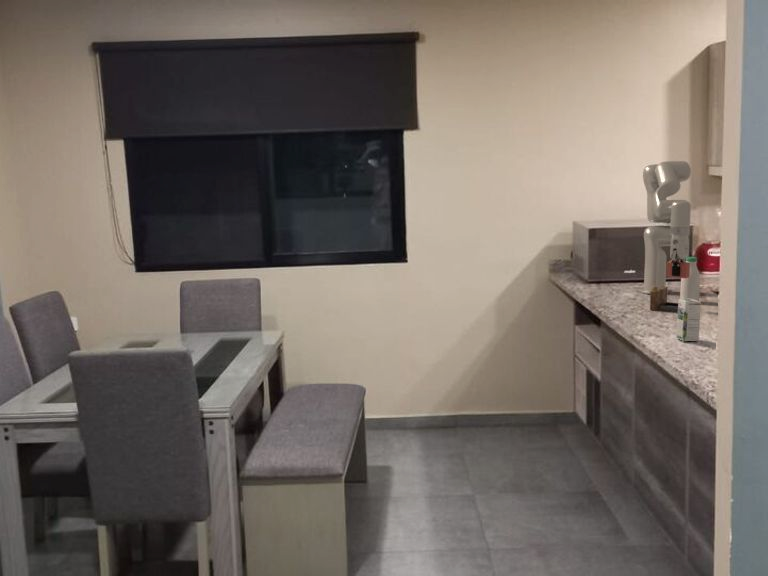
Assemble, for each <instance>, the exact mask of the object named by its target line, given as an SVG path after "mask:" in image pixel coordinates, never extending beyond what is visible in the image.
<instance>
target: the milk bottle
mask: <svg viewBox="0 0 768 576" xmlns="http://www.w3.org/2000/svg"><path fill="white" fill-rule="evenodd" d="M685 262H687V263H690V275H689V277H688V278H680V293H679V296H680V297H679V299H694V300H697V301H700V290H701V289H700V287H701V285H700V284H701V275H700V272H699V269H698V266H697V263H698V257H695V256H688V257H687V258H685Z"/></svg>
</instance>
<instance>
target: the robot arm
mask: <svg viewBox="0 0 768 576" xmlns="http://www.w3.org/2000/svg"><path fill="white" fill-rule="evenodd" d="M691 173H692V171H691V166H690V164H689V163H688V162H687V161H685V160H678V161H677V160H675V161H674V160H671V161H670V160H668V161H662V162H660V163H658V164H657V163H655V164H649V165H646V166H645V167H644V168H643V171H642V179H643V184H644V187H645V190H646V195H647V196H646V199H647V200H646V207H647V208H646V211H647V213H646V215H647V219H648V221H649V223H655V224H656V223H657V224H659V223H662V224H665V223H668V224H669V223H670V225H651V226H648V227H646V228H645V229H644V232H643V239H644V242H643V243H644V272H643V273H644V276H643V277H644V278H643V280H644V281H643V288H641V289H640V293H641V294H646V295H651V287H652V286H656V287H657V289H658V288H661V287H666V285H667V284H666V281H667V280H666V278H667V277H666V274H667V254H666V251H664V250H663V248H662V247H670V253H669V255H670V256H669V257H670V259H671V260H672V276H680V262H686V258H687V257H690V256H689V255H690V241H689V240H690V234H691V233H690V231H691V229H690V228H691V213H692V212H691V211H692V209H691V202H689V201H688V200H686V199H667V198H669V197H672V196H673V195H676V194H677V193H678V192H679V191H680V189H681V183H683V182H686V181H688V180H689V178H690V176H691ZM667 294H669V289H667Z"/></svg>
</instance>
